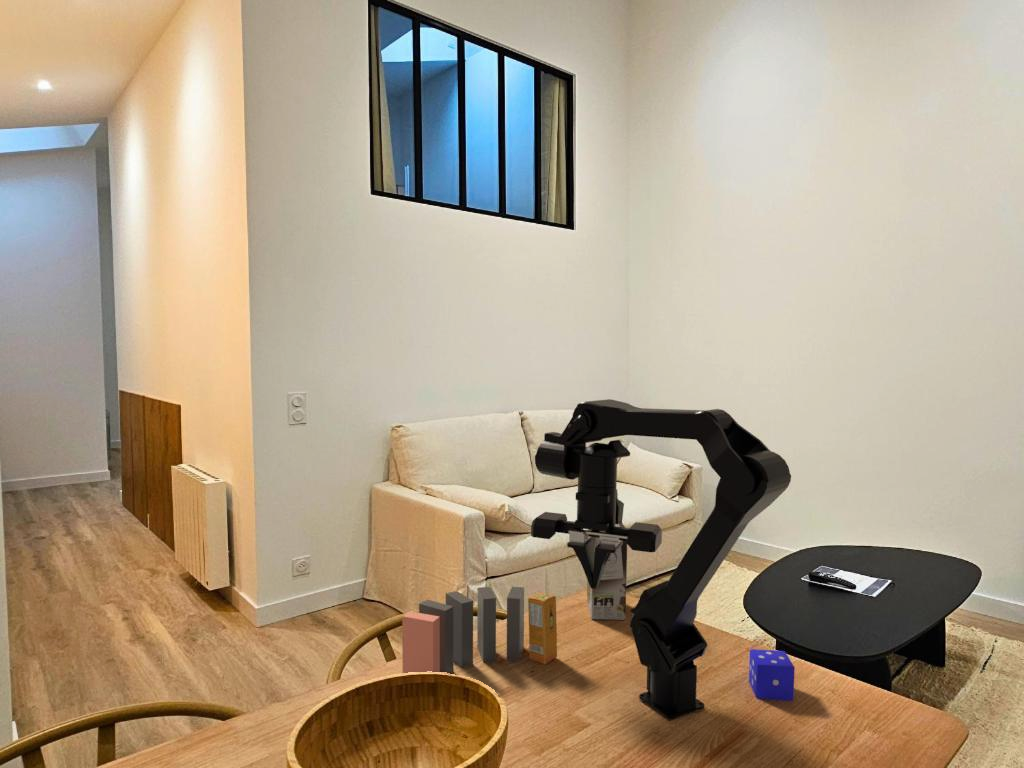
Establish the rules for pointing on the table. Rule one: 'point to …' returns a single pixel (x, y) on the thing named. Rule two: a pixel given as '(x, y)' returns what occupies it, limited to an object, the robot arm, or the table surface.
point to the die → (771, 675)
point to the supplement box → (542, 627)
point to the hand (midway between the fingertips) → (594, 587)
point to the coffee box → (610, 586)
